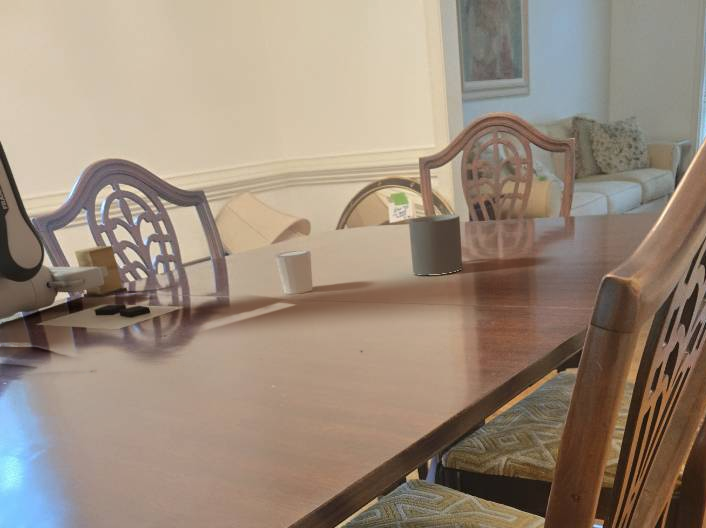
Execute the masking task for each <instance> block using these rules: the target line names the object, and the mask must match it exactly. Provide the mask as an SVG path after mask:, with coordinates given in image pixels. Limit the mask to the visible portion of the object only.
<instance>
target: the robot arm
mask: <svg viewBox="0 0 706 528" xmlns="http://www.w3.org/2000/svg"><path fill="white" fill-rule="evenodd" d="M44 261H45V247H44V242H43V239H42V237H41V235H40V233H39V232H38V230H37V228H36V227H35V225H34V223H33V222H32V220H31V218H30V217H29V215H28V213H27V210H26V207H25V205H24V202H23V199H22V196H21V193H20V191H19V188H18V185H17V182H16V179H15V177H14V174H13V171H12V168H11V165H10V162H9V160H8V156H7V155H6V152H5V149H4V146H3V144H2V142H1V140H0V320H4V319H8V318H11V317H13V316H15V315H16V314H18V313H30V312H33V311H36V310H41V309H45V308H48V307H51V306H52V305H54V303H55V301H56V297H57V296H58V294H59V293H77V292H83V291H86V290H88V289H92V288H96V287H100V286H102V285H103V284H104V280H103V277H105V276H107V275H108V271H107V268H106V267H79V266H46V265H44Z"/></svg>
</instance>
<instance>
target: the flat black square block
mask: <svg viewBox="0 0 706 528" xmlns="http://www.w3.org/2000/svg"><path fill="white" fill-rule="evenodd" d="M144 306H145V305H144ZM144 306H135V307H131V308H126V309H122V310H119V313H120V316H124V317H129V318H132V317H136V316H140V315H144V314H148V313H150V309H149V307H144Z"/></svg>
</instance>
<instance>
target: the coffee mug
mask: <svg viewBox="0 0 706 528" xmlns="http://www.w3.org/2000/svg"><path fill="white" fill-rule="evenodd" d="M408 228H409V238H410V239H409V240H410V251H411V252H410V253H411V263H412V264H411V265H412V274H413V273H415V274H421V275H429V274H442V273H449V272H454V271H457V270H460V269H461V268H462V269H463V255H462V239H461V238H462V237H461V236H462V235H461V219H460V215H459V214H451V213H450V214H433V215H425V216H419V217H414V218H411V219H409V220H408Z"/></svg>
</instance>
